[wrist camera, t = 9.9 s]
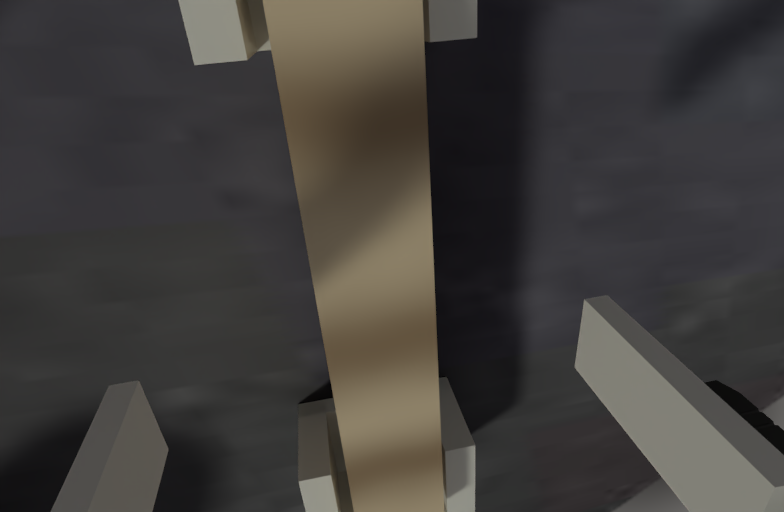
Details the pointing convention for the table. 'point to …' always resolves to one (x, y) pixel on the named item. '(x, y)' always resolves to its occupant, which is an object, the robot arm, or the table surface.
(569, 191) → the table surface
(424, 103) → the slat
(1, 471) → the table surface
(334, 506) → the endcap far
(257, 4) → the endcap near
